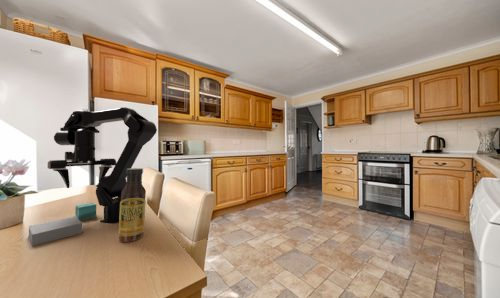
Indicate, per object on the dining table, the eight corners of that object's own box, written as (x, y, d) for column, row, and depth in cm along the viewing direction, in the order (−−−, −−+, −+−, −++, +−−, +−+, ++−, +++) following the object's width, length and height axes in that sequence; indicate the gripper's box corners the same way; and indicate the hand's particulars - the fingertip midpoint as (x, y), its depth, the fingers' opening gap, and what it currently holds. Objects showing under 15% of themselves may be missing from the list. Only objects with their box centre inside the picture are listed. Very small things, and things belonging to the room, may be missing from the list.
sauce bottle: (116, 245, 49) (116, 170, 49) (120, 236, 55) (120, 168, 55) (145, 239, 52) (145, 168, 52) (146, 231, 58) (146, 167, 58)
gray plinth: (82, 232, 57) (82, 222, 57) (32, 246, 49) (32, 234, 49) (74, 225, 63) (74, 216, 63) (28, 236, 55) (28, 225, 55)
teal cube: (96, 217, 71) (96, 204, 71) (78, 221, 67) (78, 207, 67) (92, 214, 74) (92, 202, 74) (75, 218, 70) (75, 205, 70)
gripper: (106, 146, 83) (106, 181, 83) (44, 145, 68) (44, 188, 67) (116, 145, 76) (116, 183, 76) (50, 143, 61) (50, 191, 61)
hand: (84, 186), depth 70 cm, fingers open, 9 cm apart
